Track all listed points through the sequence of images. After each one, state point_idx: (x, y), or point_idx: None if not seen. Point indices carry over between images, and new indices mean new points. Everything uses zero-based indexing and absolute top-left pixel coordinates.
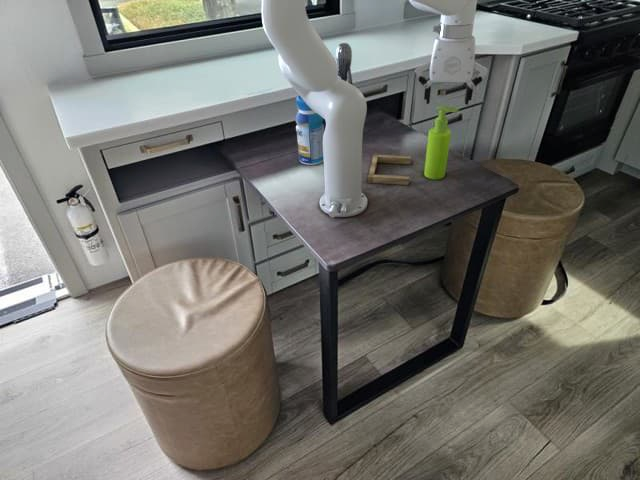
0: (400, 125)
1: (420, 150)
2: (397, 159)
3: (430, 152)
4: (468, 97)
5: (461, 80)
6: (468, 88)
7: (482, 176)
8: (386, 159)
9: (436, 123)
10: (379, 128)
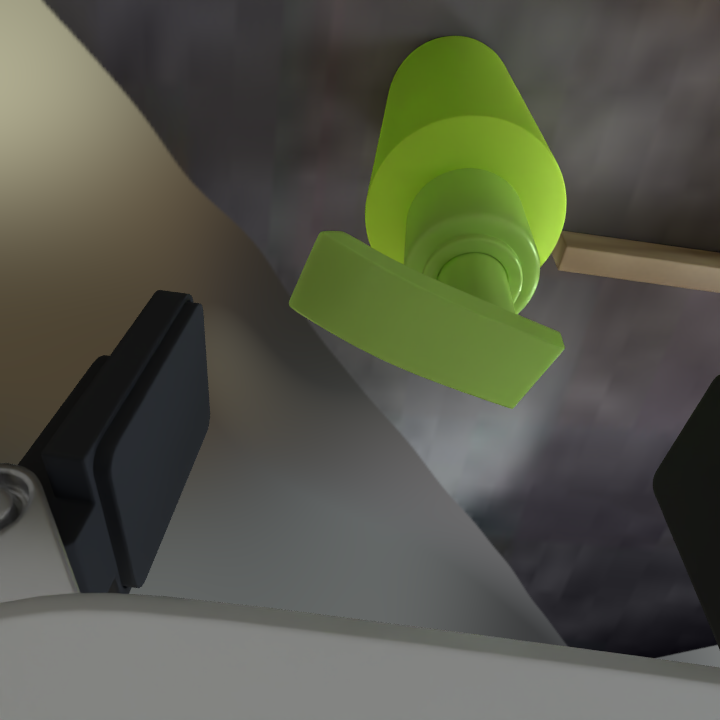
0: (504, 555)
1: None
2: (641, 252)
3: (525, 105)
4: (125, 352)
5: (177, 662)
6: (88, 499)
7: (173, 79)
8: (704, 259)
9: (529, 229)
10: (603, 544)
